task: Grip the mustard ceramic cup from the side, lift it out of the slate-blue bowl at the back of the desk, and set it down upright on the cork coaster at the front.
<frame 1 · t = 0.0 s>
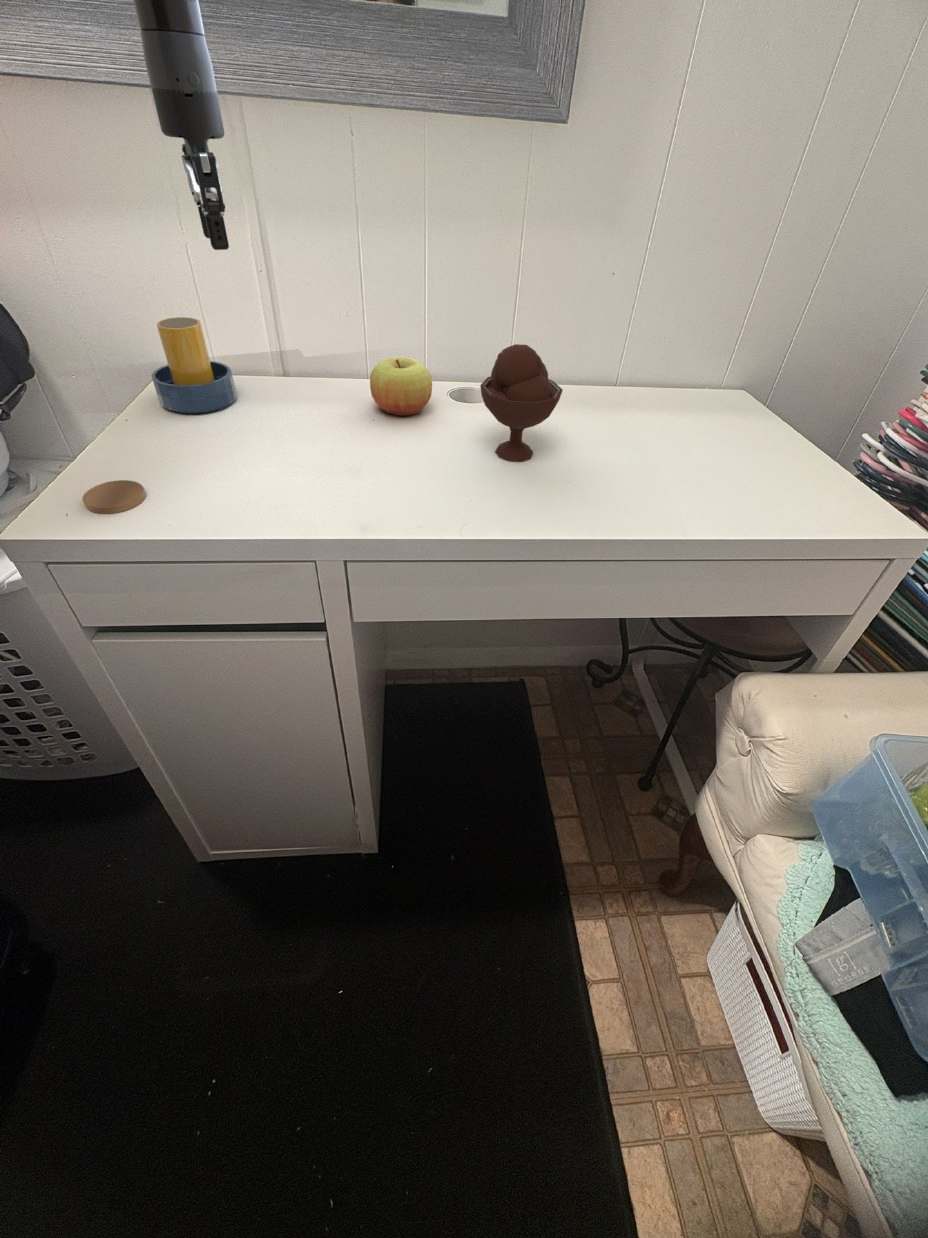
hand: (216, 243, 80), 21 cm above the table, tool pointing down, fingers open, 8 cm apart
ice cream bowl: (514, 454, 83), on the table
bowl: (199, 401, 91), on the table
apple: (401, 410, 92), on the table
coaster: (115, 499, 68), on the table
cup: (198, 397, 91), point 1 cm above the table, touching bowl
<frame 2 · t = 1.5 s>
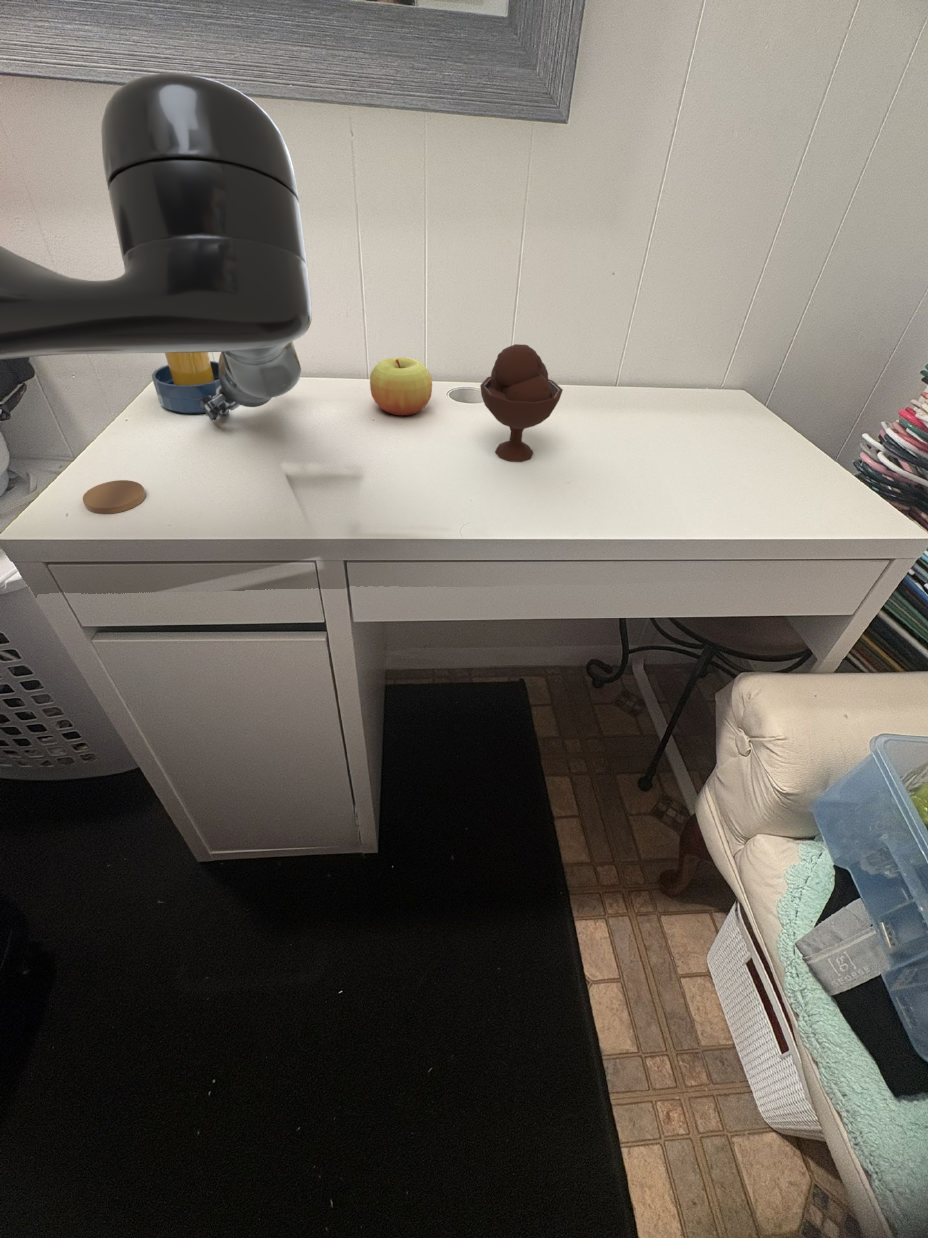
hand: (244, 391, 89), 2 cm above the table, tool tilted 60°, fingers open, 8 cm apart
nothing on the table moved.
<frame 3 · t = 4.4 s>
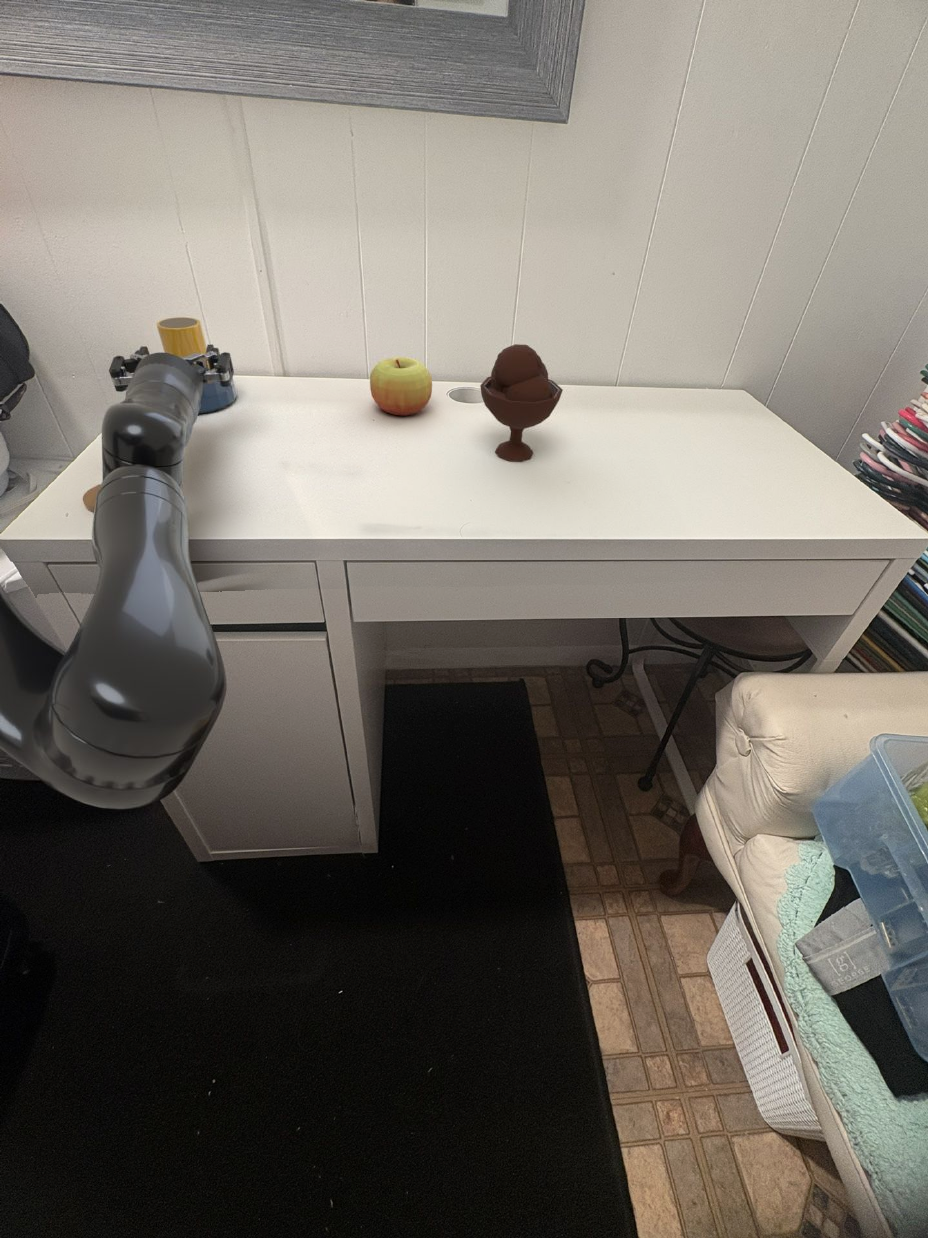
hand: (179, 352, 79), 10 cm above the table, tool horizontal, fingers open, 8 cm apart
nothing on the table moved.
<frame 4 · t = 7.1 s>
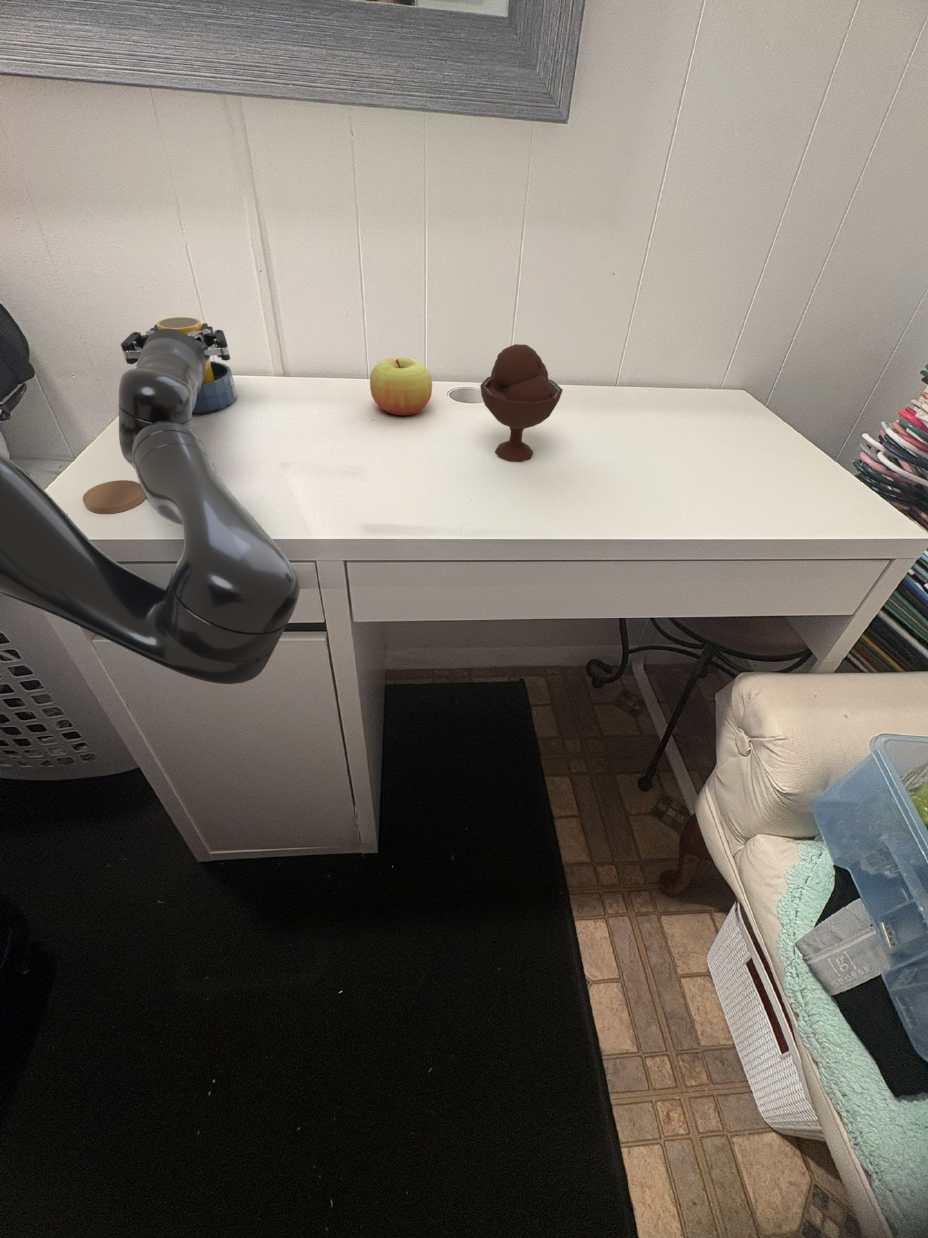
hand: (183, 330, 86), 10 cm above the table, tool horizontal, fingers closed on cup, 6 cm apart
cup: (198, 397, 91), point 1 cm above the table, touching bowl, gripper
everything else where it was.
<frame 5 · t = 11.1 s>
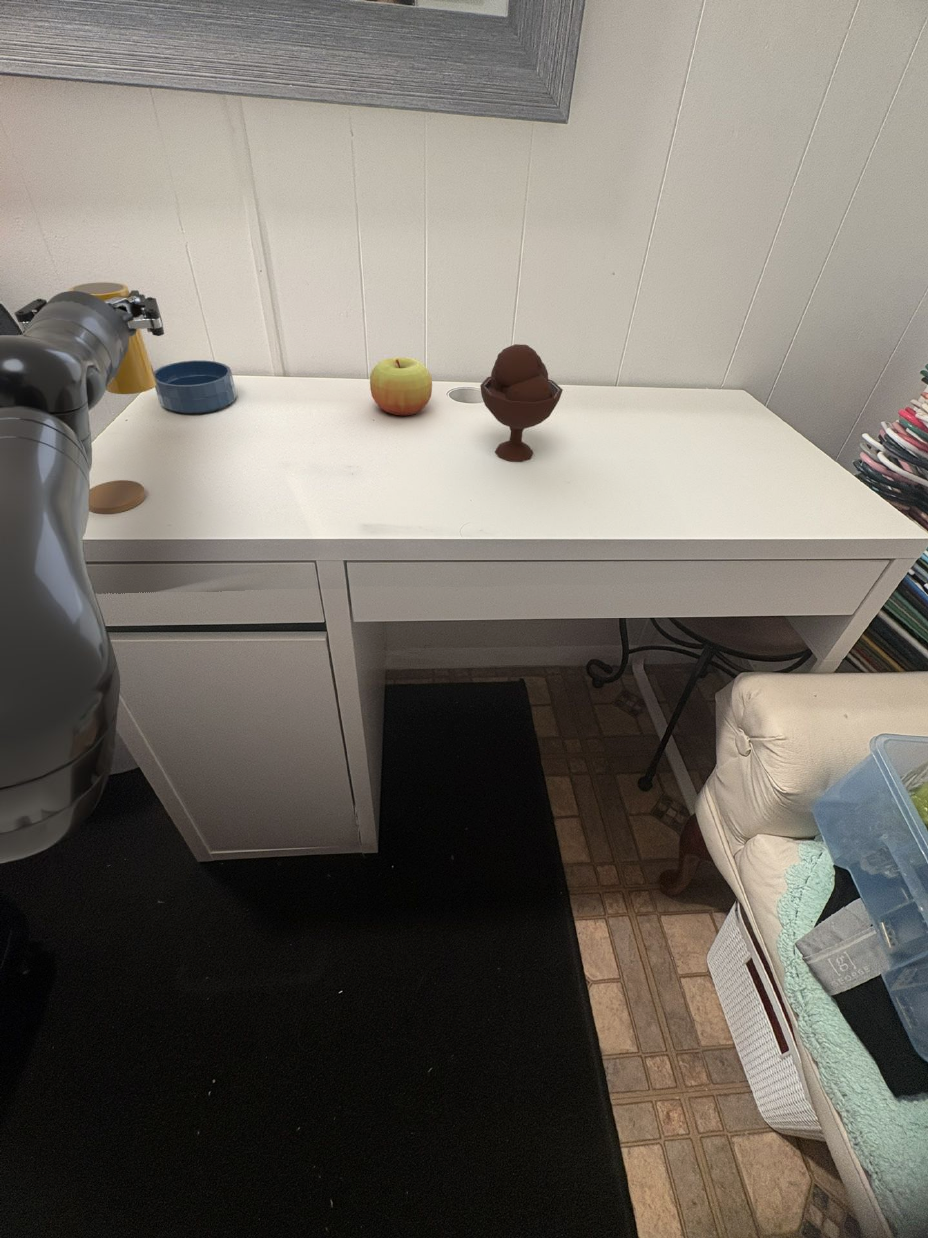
hand: (107, 300, 68), 18 cm above the table, tool horizontal, fingers closed on cup, 6 cm apart
cup: (131, 385, 72), point 9 cm above the table, touching gripper
everything else where it was.
when the fingers open (10 cm above the table, at t = 15.5 s): cup stays where it is, resting on coaster.
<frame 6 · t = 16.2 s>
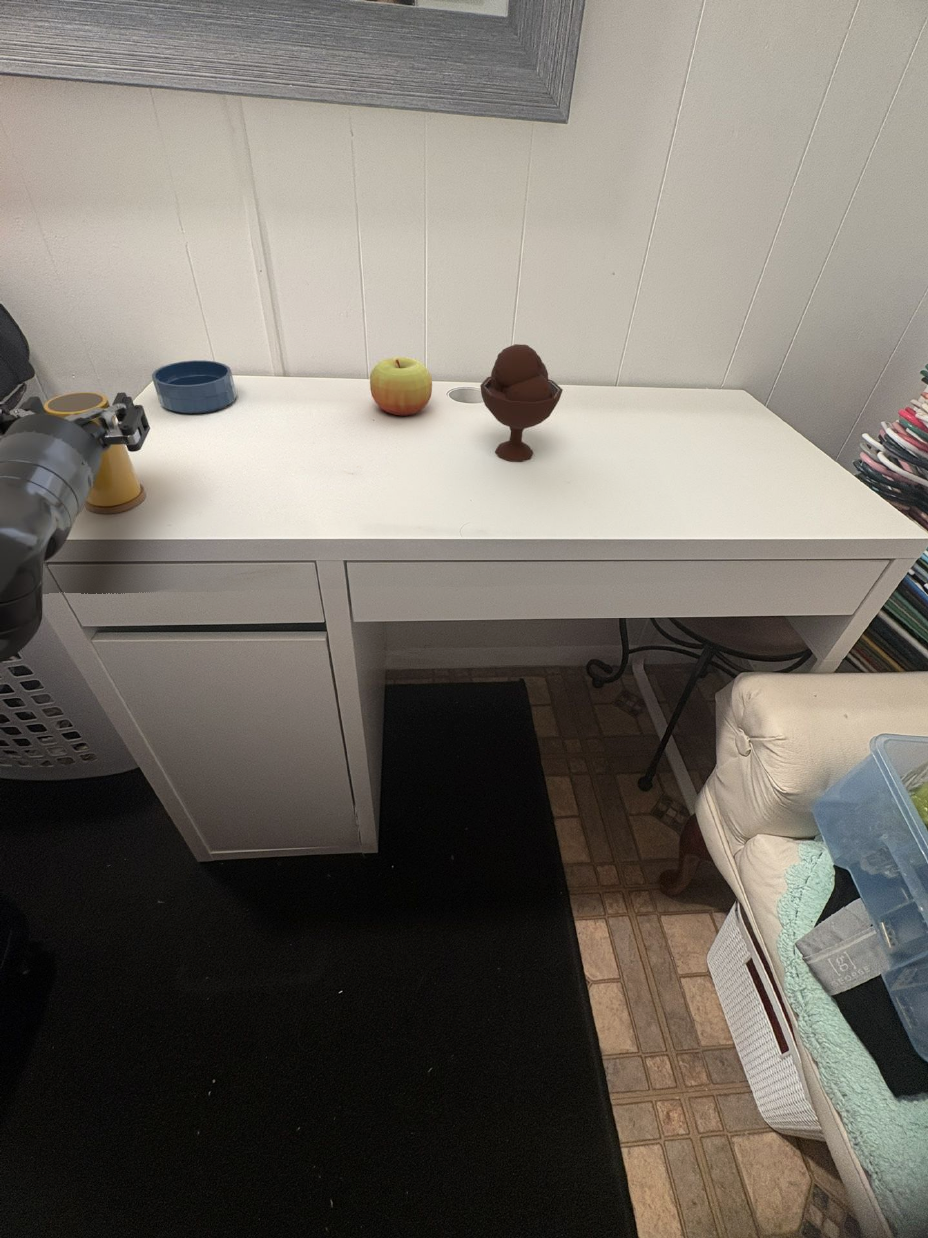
hand: (82, 403, 62), 11 cm above the table, tool horizontal, fingers open, 8 cm apart
cup: (113, 493, 68), point 1 cm above the table, touching coaster
everything else where it was.
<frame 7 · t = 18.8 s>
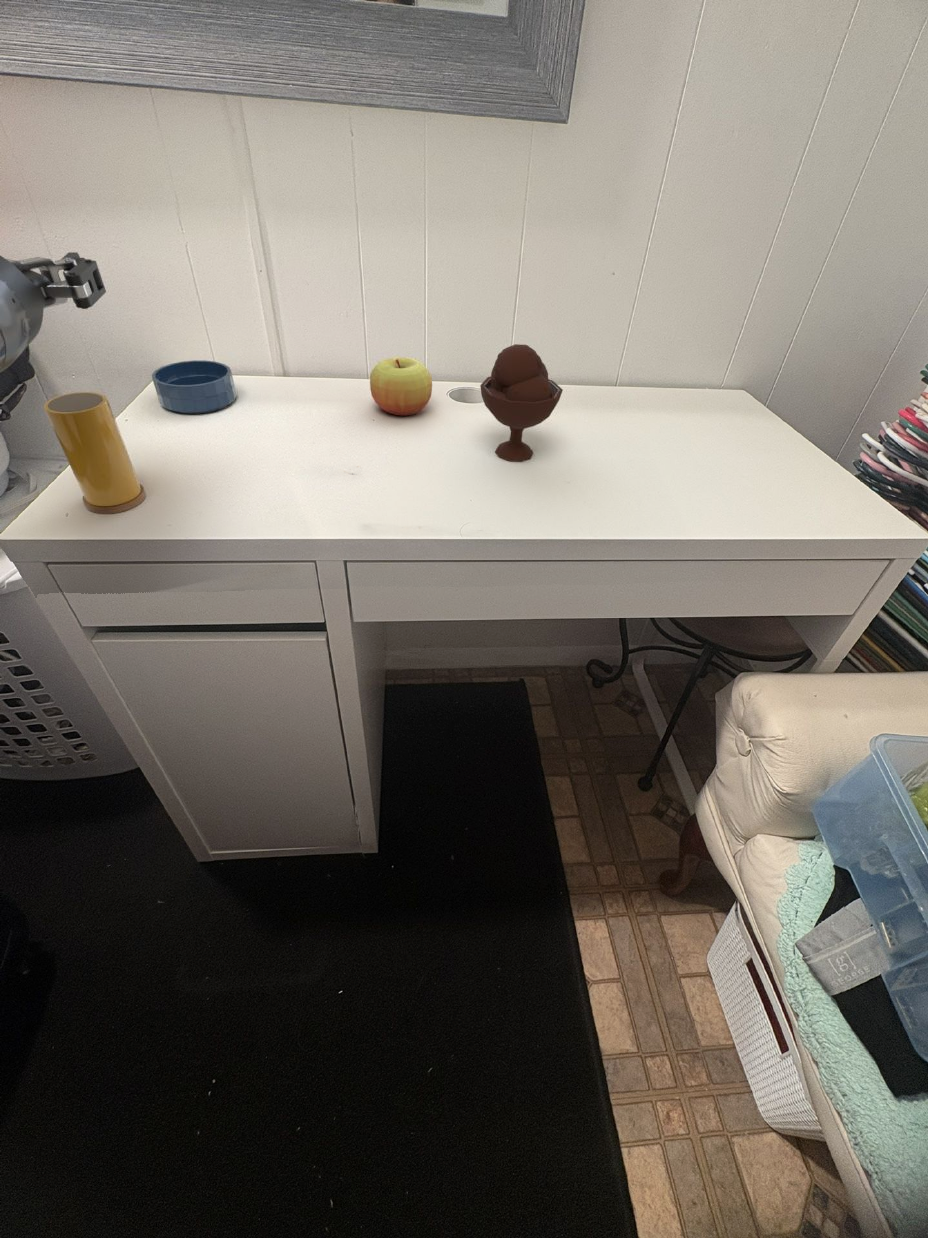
hand: (27, 264, 53), 24 cm above the table, tool horizontal, fingers open, 8 cm apart
nothing on the table moved.
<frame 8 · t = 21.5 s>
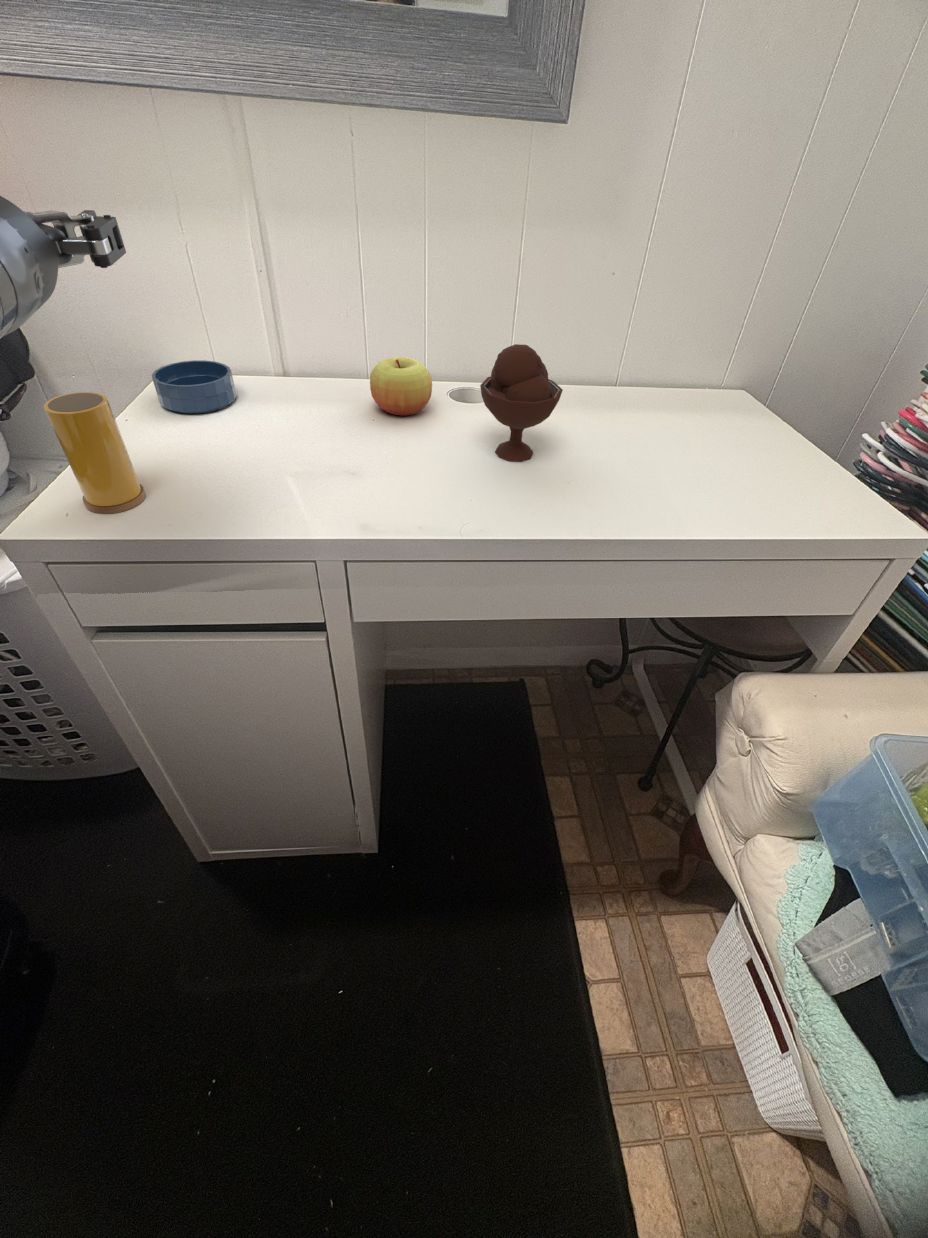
hand: (39, 223, 48), 28 cm above the table, tool horizontal, fingers open, 8 cm apart
nothing on the table moved.
at the end: cup 0.0 cm off-centre on the coaster, point 0.8 cm above the coaster's base; cup tilted 0°; cup touching coaster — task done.
